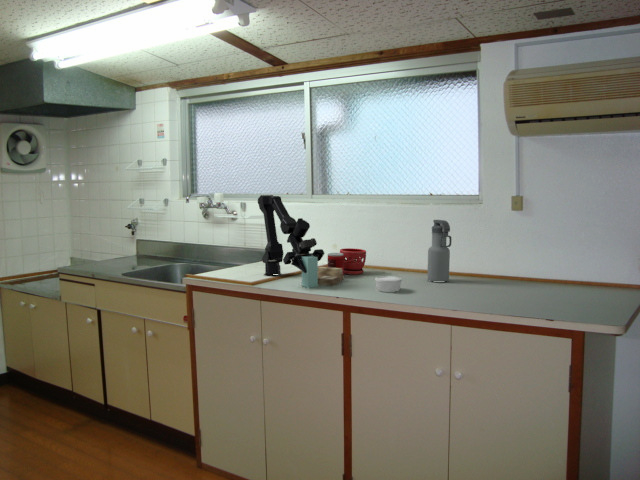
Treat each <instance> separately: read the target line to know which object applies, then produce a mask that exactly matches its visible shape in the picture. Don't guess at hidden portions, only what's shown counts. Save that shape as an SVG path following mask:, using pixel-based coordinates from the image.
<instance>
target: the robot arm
mask: <svg viewBox="0 0 640 480" xmlns="http://www.w3.org/2000/svg"><path fill="white" fill-rule="evenodd" d="M257 204H258V207H259V210H260V211H261V213H262V214H263V219H264V227H265V234H266V240H267V243H266V246H265V248H264V251H265V252H264V253H263V256H262V257H261V259H262V260H261V261H262V263H263V264H265V267H264V269H265V270H264V271H265V273H264V274H263V276H269V275H273V274H280V273H281V265H280V263H284V265H290V264H291V266H294V267H296V268H297V269H298V270H300V271H301V272H302V271H303V272H304V273H306V272H307V271H306V268H305V266H304V264H303V262H302V257H303V256H315V257H318V262H320V261H321V260H322V258H323V257H324V255H325V251H324V250H323V249H322V248H319V249H314V250H313V251H312V248H315V246H317V244H318V242H317V240H316V238H314V237H313V238H310V239H303V238H304V237H305V236H306V234H307V233H308V231H309V230H310V227H311V226H310V223H309V222H308V221H307V220H304V219H303V218H302V217H301V218H297V220H296V219H295V218H294V217H292V216H290V214H289V212H288V210H287V209H286V206H285V205H284V203H283V201H282V197H281V196H279V195H274V194H265V195H264V194H261V195H260V196H259V197H258V198H257ZM274 212H275V213H274ZM274 214H276V215H277V217H278V219H279V221H280V225H279V227H280V229H281V232H282V234H283V235H288V237H287V240H286V243H290V245H291V248H292V249H291V251H287V252H286V254H285V255H284V250H283V248H284V247H283V244H282V243H280V242H279V241H278V235H277V228H276V227H277V226H276V219H275V215H274ZM311 251H312V252H311ZM280 275H281V274H280Z"/></svg>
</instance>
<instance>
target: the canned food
mask: <svg viewBox="0 0 640 480" xmlns="http://www.w3.org/2000/svg"><path fill="white" fill-rule="evenodd" d="M327 267H330V268H342V275H344V274H343V273H344V255H343V253H340V252H330V253H327Z"/></svg>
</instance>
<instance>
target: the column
mask: <svg viewBox="0 0 640 480" xmlns="http://www.w3.org/2000/svg"><path fill="white" fill-rule="evenodd" d="M302 262H303V264H304V266H305V268H306V271H307V272H306V273H304V272H303V271H302V270H301V286H302V287H305V288H306V289H310V288H318V286H319V284H318V267H319V266H318V265H319V264H318V263H319V261H318V257H315V256H303V257H302Z"/></svg>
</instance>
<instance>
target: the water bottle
mask: <svg viewBox="0 0 640 480" xmlns="http://www.w3.org/2000/svg"><path fill="white" fill-rule="evenodd" d="M449 232H451V227H450V224H449V222H448V221H447V220H445V219H433V226H431V246H430V247H428V249H427V278H426V279H427V281H428V280H430V281H448V280H449V281H450V255H451V253H450V249H449V248H450V247H451V246H452V236H451V235H449ZM447 238H448V239H449V244H448V245H447ZM430 281H429V282H430ZM449 281H448V282H449Z"/></svg>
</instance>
